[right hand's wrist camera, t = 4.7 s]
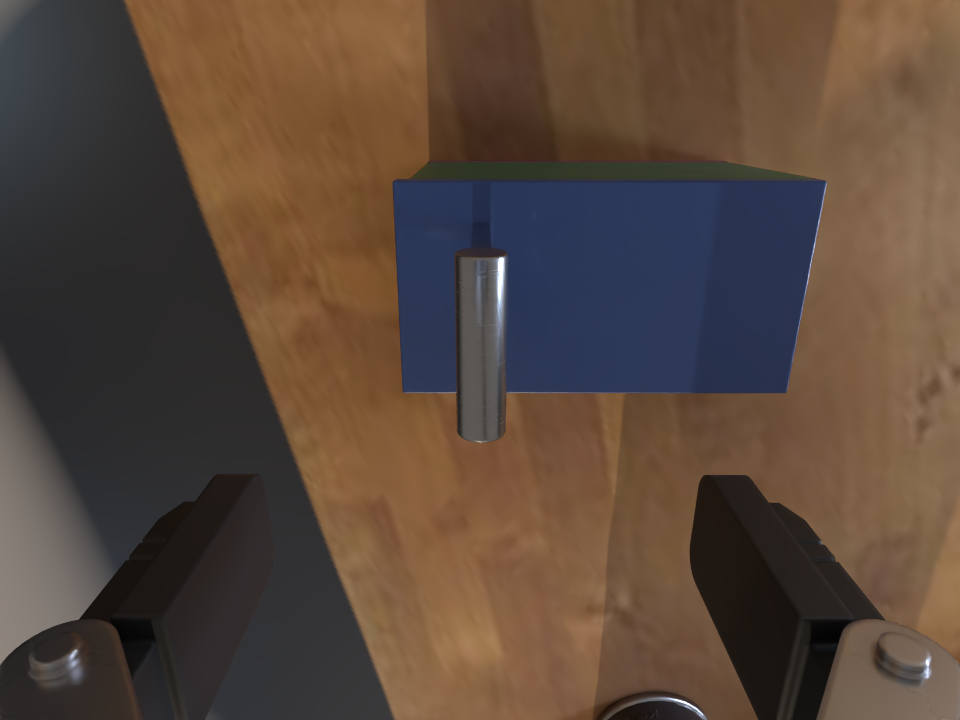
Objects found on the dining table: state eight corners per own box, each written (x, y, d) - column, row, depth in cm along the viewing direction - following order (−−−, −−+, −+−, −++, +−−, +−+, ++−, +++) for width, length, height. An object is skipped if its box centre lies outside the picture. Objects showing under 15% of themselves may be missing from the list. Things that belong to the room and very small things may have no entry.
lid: (404, 386, 28) (377, 482, 21) (394, 178, 25) (358, 205, 18) (779, 386, 28) (885, 483, 21) (817, 179, 25) (960, 205, 18)
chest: (433, 316, 38) (417, 386, 29) (429, 161, 35) (408, 178, 25) (702, 317, 38) (778, 386, 29) (723, 161, 35) (817, 178, 25)
